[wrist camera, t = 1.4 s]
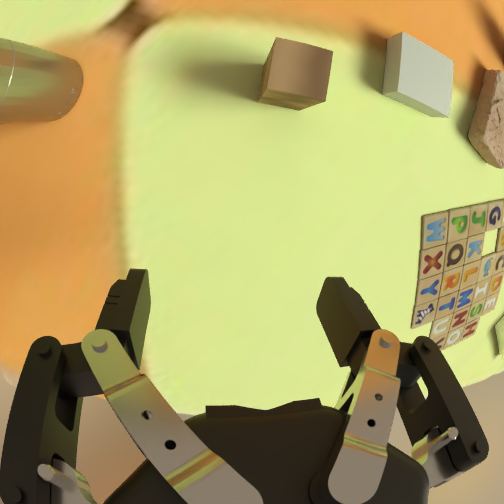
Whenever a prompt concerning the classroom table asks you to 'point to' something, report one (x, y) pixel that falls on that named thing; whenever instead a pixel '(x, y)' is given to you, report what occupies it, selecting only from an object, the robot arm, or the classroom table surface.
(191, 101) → the classroom table surface
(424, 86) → the foundation slab
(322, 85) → the walnut block
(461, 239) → the alphabet tiles
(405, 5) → the classroom table surface
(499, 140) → the brick
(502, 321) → the toy tray rim
